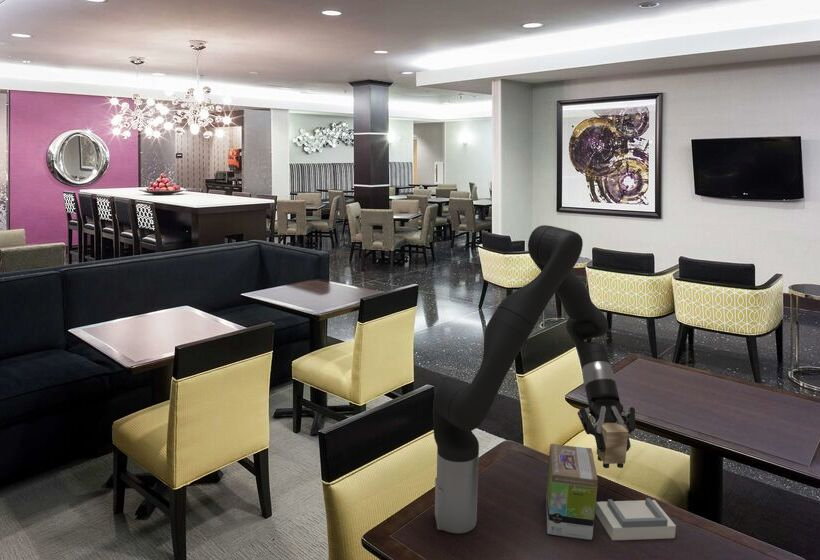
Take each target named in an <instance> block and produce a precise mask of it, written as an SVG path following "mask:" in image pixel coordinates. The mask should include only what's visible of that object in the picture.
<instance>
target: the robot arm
mask: <svg viewBox="0 0 820 560" xmlns="http://www.w3.org/2000/svg"><path fill="white" fill-rule="evenodd" d="M527 241H528V242H527V251H528V254H529V256H530V259H531V260H532V261H533V262H534V264H535V266H536V267H538V269H539V270H540V272H539V273H538V275H537V276H536V277H534V279H532V280H531V281H530V282H528V283H527V284H525V285H524V286H522V287H520V288H518V289H517V290H515V291H514V292H512V293H510V294H509V295H508V296H506V297H505V298H504V299H503V300H502V301H501V302H500V303H499V305H498V306H497V308H496V309H495V310H494V312H493V314H492V315H491V317H490V319H489V321H488V322H487V325H486V327H485V331H484V337H483V352H482V354H483V355H482V360H481V364H480V367H479V369H478V371H477V373H476V374H475V376H474V378H473V379H472V381H471V383H470V384H467V383H466V382H464V381H461V380H460V379H456V378H449V379H446V380H445V381H443V382H442V383H440V385H439V386H438V388H437V389H436V391H435V393H434V396H433V397H434V398H433V402H432V422H433V423H432V425H433V439H434V441H435V444H436V446H437V447H436V450H437V451H436V477H435V484H434V485H435V487H434V516H435V517H434V518H435V523H436V524H435V525H436V529H437V530H439V531H445V532H447V533H451V534H465V533H469V532H470V531H472V530H474V529H475V527H476V526H477V522H478V521H477V519H478V491H479V490H478V489H479V488H478V485H479V458H480V457H479V455H480V444H479V440H478V438H477V436H476V435H475V434H474V433H473V431H474V430H476V429H477V428H478V427H479V426H481V424H483V422H484V421H485V419H486V418H487V416H488V414H489V412H490V410H491V408H492V406H493V404H494V402H495V399H496V397H497V396H498V395H497V394H498V393H499V391H500V390H501V389H500V388H501V386H502V384H503V382H504V380H505V378H506V376H507V374H508V372H509V371H510V369H511V367H512V365H513V364H514V361H515V360H516V358H517V357H518V355H519V353H520V351H521V349H523V347H524V345H525V343H526V342H527V340H528V339H529V337H530V335H531V333H532V332H533V331H534V329H535V326H536V325H537V323H538V321H539V319H540V318H541V316H542V314H543V312H544V311H545V309H546V308H547V306H548V304H549V302H550V301H551V300H552V298H553V296H554V295H555V293H556V294H557V297H558V298H559V300H560V302H561V305H562V308H563V309H564V311H565V313H566V315H567V316H568V318H567V320H566V324H565V329H566V331H567V334H568V336H569V338H570V339H571V341H572V343H573V344H574V347H575V348H576V351H577V353H578V356H579V360H580V365H581V370H582V380H583V381H582V382H583V386H584V390H585V395H586V399H587V404H588V407H586V408H585V407H581V408H580V409H579V410H578V412H577V416H578V418H579V420H580V422H581V424H582V427H583V429H584V431H585V434H586V435H592V436H593V437H594V440H595V444H596V449H597V448H598V450H600V452H604V451H605V450H606V447H605V443H604V438H603V434H601V433H602V428H601V425H603V424H604V423H618V424H620V425H622V426H623V427H624V428H625V429H626V430H627V431H628V440H627V450H626V453H627V452H629V450H630V449H631V447H632V446H631V441H630V436H629V435H631V434H632V433H633V432H634V431H635V430H636V409H635V407H632V406H631V407H630V408H629V407H624V406H623V405H622V404H621V401H620V395H619V390H618V387H617V383H616V379H615V375H614V371H613V369H612V366H611V362H610V358H609V354H608V351H607V346H605V345H604V344H603V343H602V342H596V341H595V342H591V341H590V342H589V341H587V340H591V339H595V338H600V337H602V336H604V335H606V333H607V332H608V330H609V321H608V319H607V317H606V316H605V314H604V313H603V311H602V310H601V309H600V308H598V307H597V306H596V305H595V304H594V303H593V300H592V299H591V295H590V294H589V291H588V289H587V288H586V285H585V284H584V283H583V282H582V281H581V280H580V278H579V277H578V276H577V275H576V274H575V273H574V272H573V271H572V270H573V269H574V268H575V265H576V264H577V262H578V260H579V258H580V256H581V254H582V250H583V245H584V243H583V238H582V236H581V235H580V234H579V233H578V232H576V231H573V230H569V229H566V228H563V227H562V228H561V227H557V226H552V225H538V226H537V227H535V228H534V229H533V230H532V232H531V234H530V236H529V238H528V240H527ZM622 413H623V414H624V417H625V419H626V423H625V421H624V418H623V417H622V416H621V415H622ZM590 415H591V416H592V417H593V418H594V419H595V420H594V425H593V424H592V421H591V419H590Z"/></svg>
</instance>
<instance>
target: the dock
mask: <svg viewBox="0 0 820 560" xmlns="http://www.w3.org/2000/svg"><path fill="white" fill-rule="evenodd" d="M595 516H596V517H597V519H598V520H599V522H600V523H601V525H602V527H603V528H604V529H605V531H606V533H607V534H608V536H609V537H610V539H611V541H631V540H633V541H634V540H659V539H660V540H662V539H663V540H664V539H665V540H666V539H668V540H669V539H675V537H676V529H677V525H676V524H675V523H674V522H673V520H672V519H671V518H670V517H669V516H668V514H667V513H666V512H665V511H664V509H663V508H662V507H661V506H660V505H659V503H658V502H657V501H656V500H655V499H651V498H650V497H647V498H645V500H616V501H614V500H613V499H610V498H608V499H607V501H596V506H595Z"/></svg>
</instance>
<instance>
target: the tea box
mask: <svg viewBox="0 0 820 560" xmlns="http://www.w3.org/2000/svg"><path fill="white" fill-rule="evenodd" d="M548 454H549V456H548V465H547V467H548V468H547V480H546V481H547V482H546V493H545V500H546V531H547V534H548V535H553V536H559V537H567V538H573V539H582V540H590V541H592V539H593V536H594V535H593V533H594V523H595V516H596V514H595V512H596V502H597V494H598V481H599V479H598V474H597V473H598V472H597V469H596V464H595V460H594V452H593V449H592V448H591V447H583V446H572V445H565V444H564V445H562V444H557V443H556V444H554V443H550V444H549V453H548Z"/></svg>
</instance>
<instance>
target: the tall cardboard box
mask: <svg viewBox="0 0 820 560" xmlns="http://www.w3.org/2000/svg"><path fill="white" fill-rule="evenodd" d="M601 428H602V433H601V434H603V438H604V443H605V447H606V450H605V451H604V452H600V450H598V448H597V447H596V455H597V461H600V462H603V463H602V467H603V468H604V469H610V465H611V464H613V465H615V464H616V467H617V468H619V469H623V468H624V464H626V458H627V452H626V450H627V440H628V436H629V434H628V431H627V430H626V429H625V428H624V427H623V426H622V425H620V424H618V423H604V424H603V425H601Z"/></svg>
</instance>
